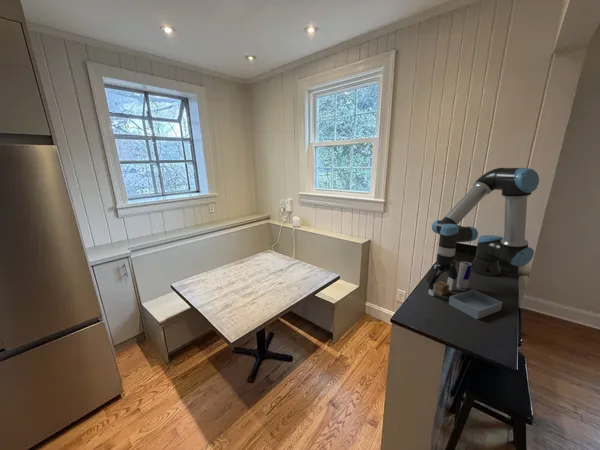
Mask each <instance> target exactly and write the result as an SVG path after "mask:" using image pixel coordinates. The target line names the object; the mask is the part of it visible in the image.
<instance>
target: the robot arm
mask: <svg viewBox="0 0 600 450" xmlns="http://www.w3.org/2000/svg"><path fill="white" fill-rule="evenodd" d="M539 183H540V177H539V174H538V171H536V170H535V169H533V168H530V167H529V168H526V167H496V168H494V169H491V170H489V171H487V172H485V173H484V174H483V175H480V177H478V178H477V180H475V182H473V183H472V187H471V188H470V189H469V190H468V192H467V193H466V194H465V195H463V197H462V198H461V199H460V200H459V201H458V202H457V203H456V204H455V205H454V206H453V208H452V209H450V211H449V212H448V213H447V214H446V215H445V216H444V217H443V218H441V220H440V219H437V220H435V221H433V222H432V223H431V230H432V232H433V233H435V234H438V235H439V239H438V240H439V241H438V248H437V254H436V261H437V264H434V263H433V264H432V269H431V270H430V273H429V274H428V277H427V278H426V281H425V282H426V283H428V284H429V285H428V295H430V296H432V297H435V285H436V284H434V283H435V282H438V281H437V280H438V279H439V278H440V276H441V275H443V273H446V274H447V275H448V277H447V281H446V284H448V285H449V291H453V286H454V280H456V279H457V278H458V273H457V272H458V271H457V267H456V261H454V260H455V255H456V249H457V243H466V242H467V243H470V242H473V241H476V240H477V238H478V240H477V246H476V252H475V256H474V259H473V260H472V262H470V263H471V264H472V265H471V271H472V272H474V273H477V274H479V275H483V276H488V277H497V275H498V276H500V275H499V274H501V267H500V263H499V261H501V262H504V263H507V264H509V265H511V266H516V267H524V266H526V265H527V264H529V263H530V262H531V261H532V259H533V257H534V254H535V252H534V249H533V248H531V247H529V241H528V240H527V239H526V223H527V206H528V198H529V196H530V195H532V192H534V191H536V189H538V186H539ZM496 190H497V191H501V196H502V197H504V198H505V199H504V201H505V202H504V223H503V224H504V228H503V229H504V231H503V232H504V234H503V236H501V235H494V234H490V235H489V234H485V235H480V236H479V232H478V229H477V228H475V227H474V226H469V225H468V226H463V225H459V224H460V223H461V222H462V220H463V219H464V218H465V217H466V216H467V215H468V214H469V213H470V212H471V211H472V210H473V209H474V207H476V206H477V205H478V204H479V203H480V201H482V200H483V198H484V197H485V196H486V195H490V194H491V192H493V191H496ZM456 281H457V280H456Z"/></svg>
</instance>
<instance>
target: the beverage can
mask: <svg viewBox="0 0 600 450" xmlns="http://www.w3.org/2000/svg"><path fill="white" fill-rule="evenodd" d="M471 263H472V262H467V261H460V262H459V268H458V273H457V278H456V279H457V280H456V288H457V289H458V290H461V291H468V288H469V283H470V276H471V271H472V270H471V265H472V264H471Z"/></svg>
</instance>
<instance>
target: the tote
mask: <svg viewBox="0 0 600 450" xmlns="http://www.w3.org/2000/svg"><path fill="white" fill-rule="evenodd" d="M448 306H451V307H453V308H455V309H456V310H459V311H460V312H463V313H464V314H466V315H468V316H470V317H472V318H474V319H475V320H480V319H482V318H485V317H487V316H489V315H493V314H495V313H497V312H500V311H502V308H503V307H502V306H503V301H501V300H498V299H497V298H493V297H492V296H489V295H487V294H485V293H482V292H480V291H478V290H476V289H473V288H472V289H469V290H465V291H463V292H459V293H457V294H453V295H450V296H449V299H448Z"/></svg>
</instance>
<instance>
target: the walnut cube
mask: <svg viewBox="0 0 600 450" xmlns="http://www.w3.org/2000/svg"><path fill="white" fill-rule="evenodd" d="M434 284H436V285H435V292H434V294H435V293H436V294H437V295H439V296H441V297H442V296H445V295H448V294H449V291H450V290H449V285H448V284H447V282H443V281H442V280H439V281H436V282H435V283H434Z"/></svg>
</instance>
